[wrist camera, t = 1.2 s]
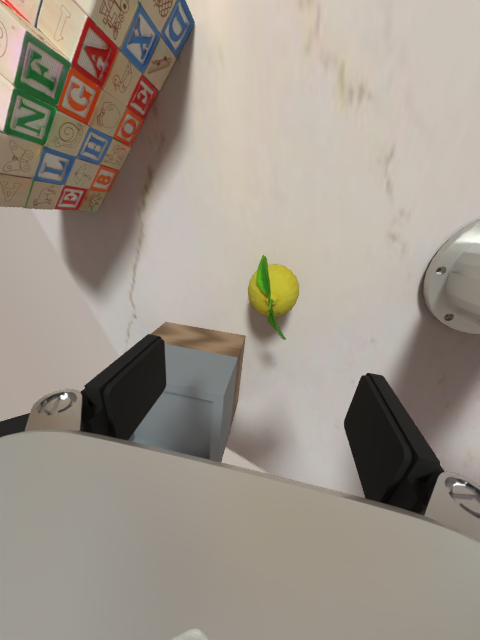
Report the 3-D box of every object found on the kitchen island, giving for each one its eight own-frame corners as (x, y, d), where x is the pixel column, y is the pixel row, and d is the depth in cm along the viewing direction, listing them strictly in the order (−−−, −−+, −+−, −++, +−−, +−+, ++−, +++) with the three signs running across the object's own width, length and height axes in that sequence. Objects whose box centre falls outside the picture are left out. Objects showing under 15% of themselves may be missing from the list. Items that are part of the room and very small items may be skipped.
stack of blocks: (144, -39, 20) (-42, -385, 8) (197, 24, 21) (92, -214, 9) (57, 176, 28) (-92, 144, 17) (97, 214, 29) (-19, 207, 18)
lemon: (285, 315, 30) (285, 355, 20) (244, 297, 30) (226, 330, 21) (310, 267, 27) (322, 289, 18) (264, 248, 27) (253, 260, 18)
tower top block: (237, 357, 27) (223, 395, 21) (229, 430, 31) (216, 477, 26) (143, 339, 28) (106, 370, 22) (150, 411, 33) (120, 452, 27)
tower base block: (245, 335, 32) (237, 357, 27) (238, 399, 37) (229, 430, 31) (166, 321, 34) (143, 340, 28) (169, 385, 38) (149, 411, 33)
